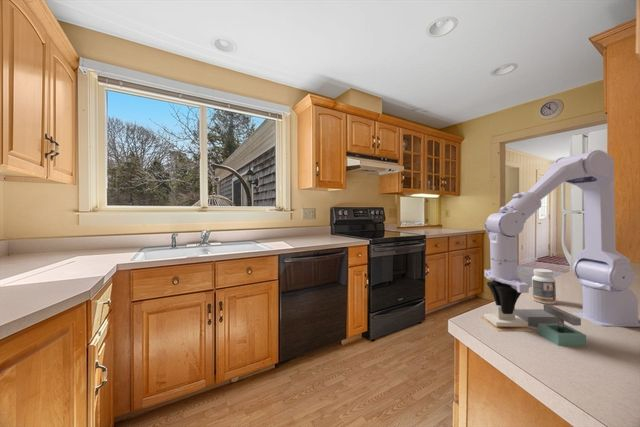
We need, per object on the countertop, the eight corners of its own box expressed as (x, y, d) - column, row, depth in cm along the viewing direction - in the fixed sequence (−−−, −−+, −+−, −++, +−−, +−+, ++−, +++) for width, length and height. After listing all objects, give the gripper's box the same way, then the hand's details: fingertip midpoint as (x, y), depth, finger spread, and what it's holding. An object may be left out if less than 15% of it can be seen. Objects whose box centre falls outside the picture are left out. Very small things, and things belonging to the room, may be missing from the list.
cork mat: (511, 318, 70) (511, 316, 70) (533, 332, 62) (533, 330, 62) (480, 318, 70) (480, 316, 70) (498, 332, 62) (498, 330, 62)
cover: (513, 317, 68) (512, 302, 68) (527, 326, 63) (527, 310, 63) (484, 317, 69) (483, 302, 69) (496, 326, 64) (496, 310, 64)
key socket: (563, 333, 61) (563, 323, 61) (588, 347, 55) (588, 335, 55) (536, 333, 61) (536, 323, 61) (558, 346, 55) (557, 335, 55)
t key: (542, 330, 62) (541, 304, 62) (551, 330, 62) (551, 304, 62) (572, 348, 54) (571, 318, 54) (583, 348, 54) (582, 318, 54)
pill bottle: (560, 305, 78) (560, 272, 78) (539, 304, 79) (538, 272, 79) (548, 298, 83) (547, 268, 83) (528, 297, 84) (527, 268, 84)
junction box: (542, 318, 69) (542, 309, 69) (558, 326, 64) (557, 317, 64) (515, 318, 70) (514, 309, 70) (528, 326, 65) (528, 316, 65)
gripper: (472, 254, 73) (474, 301, 73) (505, 265, 59) (506, 324, 59) (498, 254, 73) (499, 301, 73) (537, 265, 58) (539, 324, 58)
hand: (504, 311), depth 66 cm, fingers closed on cover
